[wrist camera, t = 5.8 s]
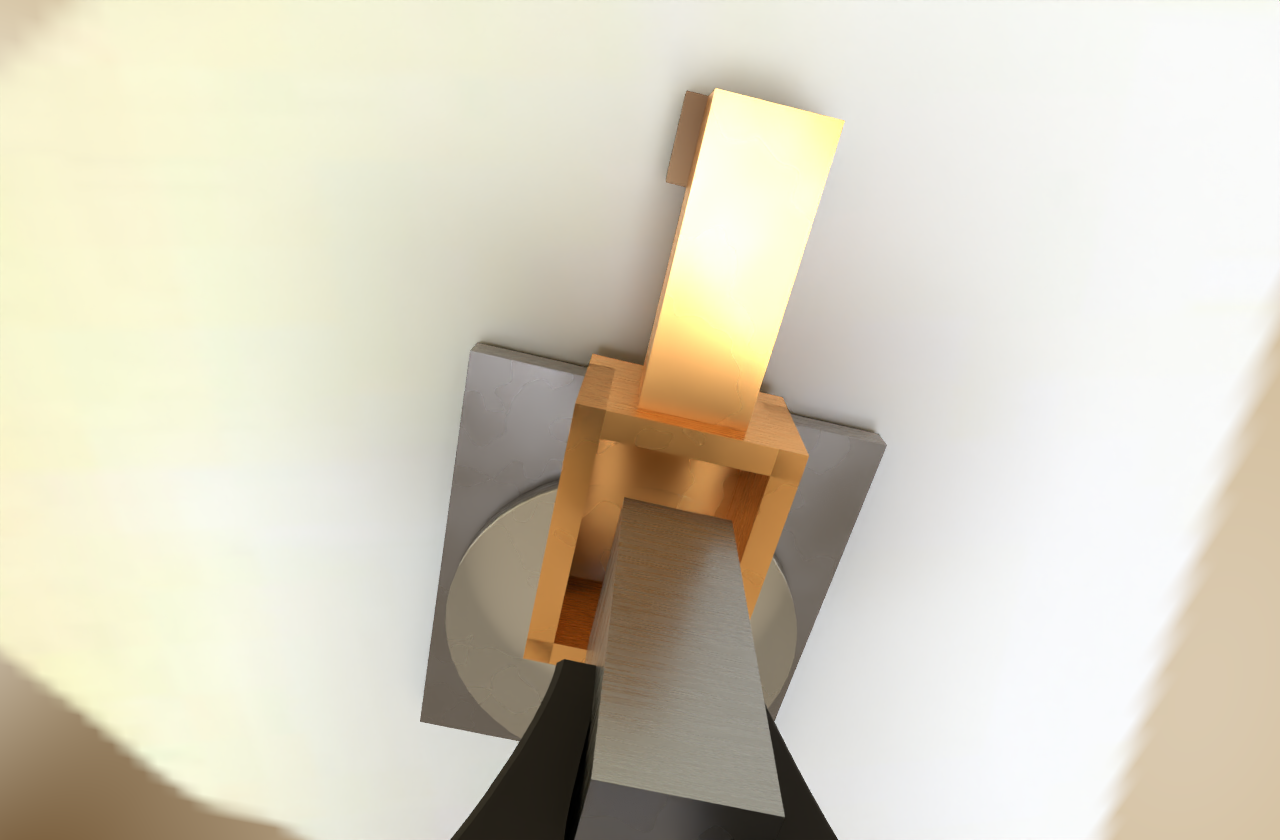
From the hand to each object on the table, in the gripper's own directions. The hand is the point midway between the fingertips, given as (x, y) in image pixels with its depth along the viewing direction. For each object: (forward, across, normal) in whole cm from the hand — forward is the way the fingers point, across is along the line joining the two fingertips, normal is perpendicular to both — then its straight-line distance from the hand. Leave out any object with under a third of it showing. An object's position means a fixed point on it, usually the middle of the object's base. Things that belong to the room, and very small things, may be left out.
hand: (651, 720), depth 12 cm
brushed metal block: (+4, 0, 0) cm, 4 cm away
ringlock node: (+9, 0, 0) cm, 9 cm away
